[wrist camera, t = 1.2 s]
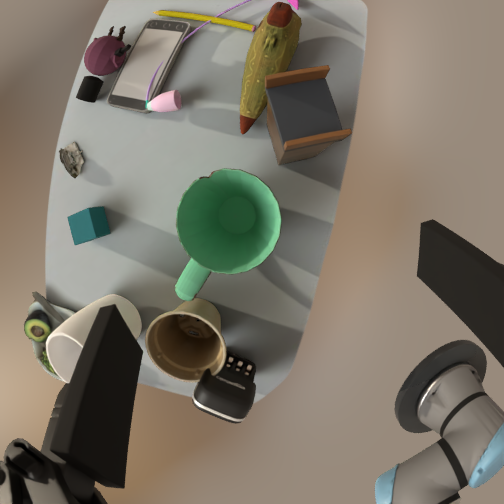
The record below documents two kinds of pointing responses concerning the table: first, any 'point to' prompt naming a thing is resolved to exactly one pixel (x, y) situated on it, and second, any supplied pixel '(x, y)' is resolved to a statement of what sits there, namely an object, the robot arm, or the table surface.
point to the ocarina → (267, 59)
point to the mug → (225, 227)
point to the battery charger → (227, 390)
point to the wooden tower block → (290, 155)
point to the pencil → (206, 19)
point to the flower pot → (187, 341)
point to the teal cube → (88, 225)
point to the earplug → (172, 98)
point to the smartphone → (148, 64)
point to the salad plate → (44, 328)
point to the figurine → (102, 63)
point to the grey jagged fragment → (76, 162)
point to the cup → (84, 333)
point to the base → (303, 108)
